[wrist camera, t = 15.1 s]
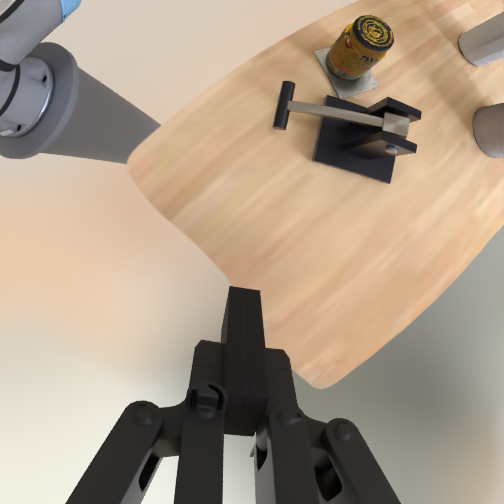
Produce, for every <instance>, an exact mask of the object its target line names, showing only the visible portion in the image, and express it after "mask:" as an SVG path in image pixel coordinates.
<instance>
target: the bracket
mask: <svg viewBox="0 0 504 504" xmlns="http://www.w3.org/2000/svg"><path fill="white" fill-rule="evenodd" d="M324 106H328V107H333V108H338V109H344V110H349V111H353V112H358V113H363V114H367V115H371V116H376V117H380V118H384V115H385V112H387V113H391V114H395V115H398V116H402V117H406V118H409V119H410V120H409V123H410V122H414V121H417V120H420V119H421V113H422V112H421V111H419V110H417V109H415V108H413V107H411V106H408V105H406V104H404V103H402V102H399V101H397V100H394V99H392V98H390V97H387V98H385V99H383V100H381V101H380V102H378V103H376V104H374V105H372V106H371V107H369V108H366V107H363V106H360V105H357V104H354V103H351V102H348V101H345V100H342V99H339V98H336V97H333V96H329V95H327V96H326V97H325V101H324ZM416 149H417V144H415V143H412V142H410V141H407V140H405V139H402V138H400V137H397V136H395V135H392V134H390V133H387V132H384V131H382V129H378V128H374V127H370V126H365V125H361V124H357V123H352V122H347V121H342V120H337V119H332V118H327V117H322V116H321V121H320V126H319V131H318V135H317V140H316V145H315V150H314V154H313V159H312V162H316V163H320V164H323V165H327V166H331V167H334V168H338V169H341V170H345V171H348V172H351V173H355V174H358V175H361V176H364V177H368V178H371V179H374V180H377V181H380V182H383V183H386V184H390V182H391V177H392V172H393V167H394V161H395V156H398V155H405V154H412V153H416Z"/></svg>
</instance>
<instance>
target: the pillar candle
mask: <svg viewBox="0 0 504 504" xmlns="http://www.w3.org/2000/svg"><path fill="white" fill-rule="evenodd" d="M473 130H474V135H475V138H476V141H477V143H478V145H479V147H480V148H481V149H482V150H483V151H484V152H485V153H486V154H487V155H488V156H490V157H494V158H501V157H504V103H500V104H496V105H491V106H487V107H482V108H480V109H478V110H477V111H476V113H475V115H474V119H473Z"/></svg>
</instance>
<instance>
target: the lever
mask: <svg viewBox="0 0 504 504" xmlns="http://www.w3.org/2000/svg"><path fill="white" fill-rule="evenodd" d="M294 89H295V83H293V82H291V81H283V83H282V87H281V91H280V96H279V100H278V105H277V109H276V114H275V118H274V122H273V128H275V129H278V130H286V126H287V122H288V117H289V112H290V111H291V112H298V113H304V114H310V115H316V116H322V117H327V118H332V119H337V120H342V121H347V122H352V123H357V124H361V125H365V126H370V127H374V128H378V129H382V131H384V132H387V133H390V134H392V135H395V136H397V137H400V138H402V139H406V138H407V134H408V127H409V120H410V119H409V118H406V117H402V116H398V115H395V114H391V113H387V112H385V115H384V118H380V117H376V116H371V115H367V114H363V113H358V112H353V111H349V110H344V109H338V108H333V107H328V106H322V105H316V104H310V103H303V102H296V101H292V99H293V94H294Z"/></svg>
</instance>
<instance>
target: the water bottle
mask: <svg viewBox="0 0 504 504" xmlns="http://www.w3.org/2000/svg"><path fill="white" fill-rule="evenodd" d="M459 45H460V49H461V51H462V53H463V55H464V56H465V57H466V59H467V60H468V61H469V62H470V63H472V64H474V65H476V66H483V65H486V64H488V63H491V62H493V61H496V60H499V59H501V58H504V12H502V13H500V14H499V15H497V16H495V17H493V18H491V19H489V20H487V21H485V22H484V23H482V24H480V25H478V26H476V27H474V28H473V29H471V30H469V31H467V32H465V33H464V34H462V35H461V37H460V39H459Z"/></svg>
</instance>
